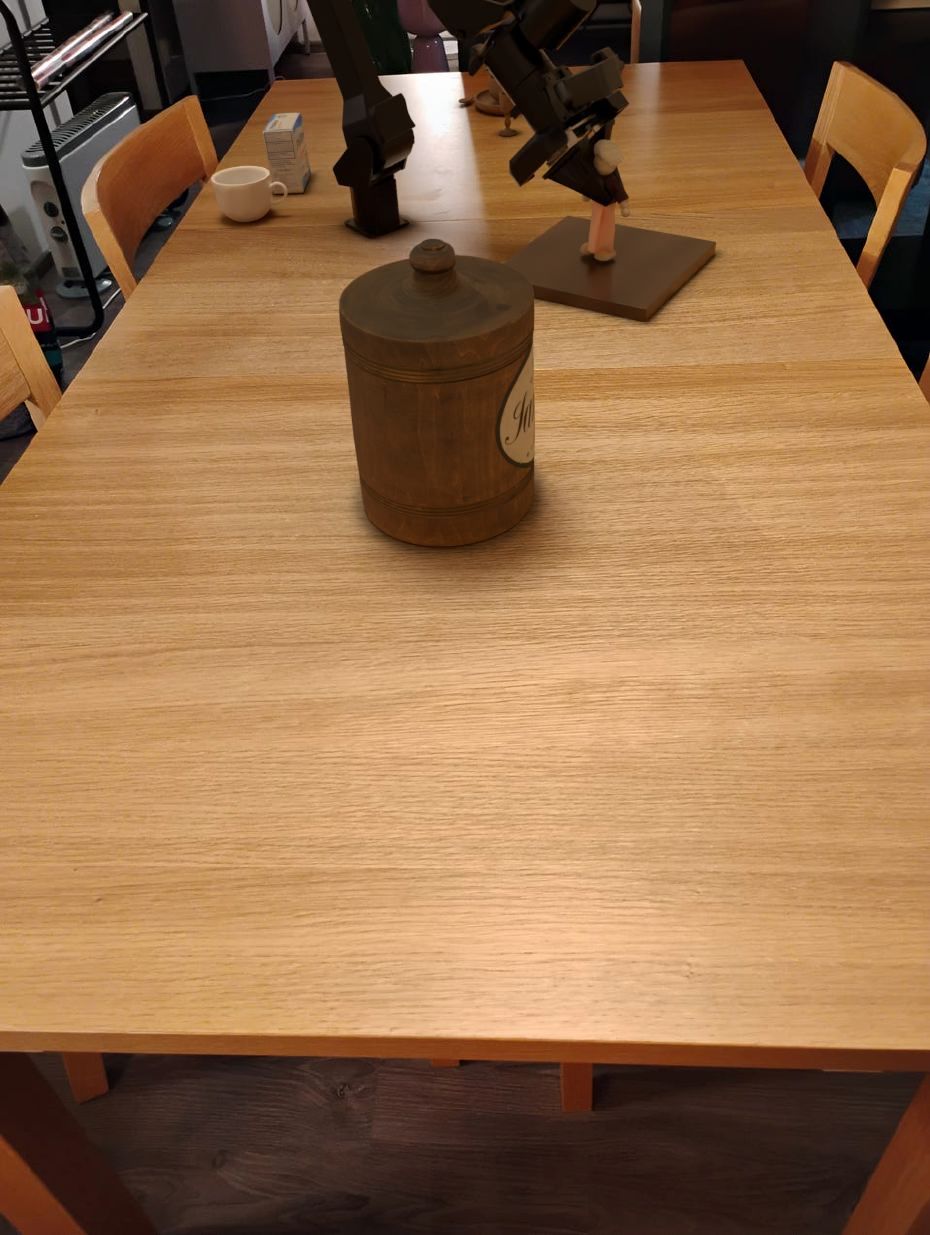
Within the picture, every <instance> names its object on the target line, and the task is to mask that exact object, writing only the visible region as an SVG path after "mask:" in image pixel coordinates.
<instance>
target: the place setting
mask: <svg viewBox="0 0 930 1235" xmlns="http://www.w3.org/2000/svg"><path fill="white" fill-rule="evenodd" d="M487 78H488V88H485V89H482V90H480V91H478V92H476V93H475V94H474V95H472V96H469V97H463V98H460V99H458V103H459V104H468V103H471V102H472V100H473V101H474V104H475V107H477V108H478V109H479V110H481V111H482V112H484V113H486V114H490V115H496V116H504V121H503V123H504V126H505V128H504V129H503V130H500V131H499V132H498V135H499V136H501V137H514V136H516V135H517V133H518V132H517V131H516V130H515V129H511V125H512V121H511V116H512V115H511V114H510V113H509V112H510V111H511V110H512V108H513V107H514V104H513V103H512V102H511V100H510V99H509V97H508V96H507V95H506V93H505V92H504V91H503V89H502V88H501V86H500V85H499V84H498V82H497V81H496V80H495V78H494V77H493V75H492V74H491V73H489V74H488V76H487Z"/></svg>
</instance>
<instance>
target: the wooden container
mask: <svg viewBox="0 0 930 1235" xmlns="http://www.w3.org/2000/svg"><path fill="white" fill-rule="evenodd" d="M503 263H504V262H500V261H498V260H497V261H496V260H493V259H489V258H485V257H481V256H474V255H462V254H456V253H455V249H454V247H453V246H452V245H451V244H450V243H448V242H446V241H444V240H442V239H441V238H426V239H424V240H422V241H421V242H419V243H418V244H416V245H415V246H414V247H412V249H411V250H410V252H409V255H408V258H405V259H404V258H403V259H400V260H396V261H392V262H389V263H385V264H382V265H380V266H377V267H375V268H373V269H371V270H368V271H366V272H364V273H363V274H360V275H359V276H358V277H356V278H355V279H353V280H351V282H349V284H347V285H346V286H345V288H344V289H343V291H341V294H340V296H339V300H338V314H339V328H340V332H341V340H342V346H343V351H344V362H345V369H346V378H347V388H348V395H349V407H350V417H351V427H352V434H353V435H352V436H353V444H354V448H355V449H354V450H355V457H356V464H357V469H358V477H359V484H360V490H361V492H360V493H361V499H362V504H363V508H364V511H365V513H366V515H367V517H368V519H369V520H370V521H371V523H373V525H374V526H376V527H377V528H378V529H379V530H380V531H382V532H384V533H385V534H387V535H388V536H391V537H393V538H394V539H397V540H399V541H402V542H406V543H408V544H413V545H419V546H425V547H456V546H464V545H471V544H475V543H479V542H483V541H486V540H488V539H491V538H494V537H496V536H498V535H500V534H502V533H504V532H506V531H507V530H509V529H511V528H512V527H513V526H515V525H516V524H517V523H519V522H520V521H521V520H522V519H523V517H525V516H526V514H527V513H528V512H529V510H530V508H531V506H532V504H533V501H534V495H535V455H536V408H535V407H536V406H535V404H536V403H535V378H534V377H535V374H534V373H535V369H534V366H535V365H534V364H535V363H534V362H535V358H534V357H535V356H534V332H535V311H536V310H535V298H534V291H533V287H532V284H531V283H530V281H529V280H528V279H527V278H526V277H525V276H524V275H523V274H522V273H521V272H519V271H518V270H516V269H514V268H513V267H510V266H508V265H506V264H503Z"/></svg>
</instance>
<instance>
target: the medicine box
mask: <svg viewBox="0 0 930 1235" xmlns="http://www.w3.org/2000/svg"><path fill="white" fill-rule="evenodd" d="M304 127H305V126H304V122H303V116H302V113H301V112H284V113H283V112H281V113H274V114H272V115H271V117H270V119H269V120H268V123H267V124H266V126H265V128H264V129H263V131H262V137H263V144H264V150H265V155H266V159H267V165H268V170H269V172H270V178H271V183H273V182H281V183H283V184H284V185H285V186H286V188H287V192H288V194H303V193H304V191H305V189H306V186H307V184H308V181H309V179H310V176H311V173H312V172H311V166H310V159H309V154H308V147H307V141H306V134H305V128H304ZM273 193H274V195H275V194H276V195H284V190H283V188H282V187H281V186H276V187H275V188H274V189H273Z"/></svg>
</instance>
